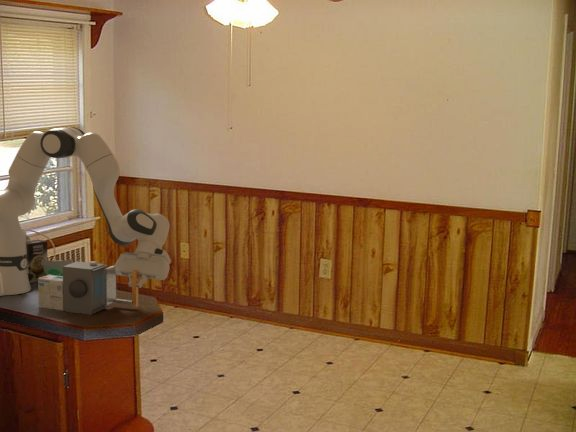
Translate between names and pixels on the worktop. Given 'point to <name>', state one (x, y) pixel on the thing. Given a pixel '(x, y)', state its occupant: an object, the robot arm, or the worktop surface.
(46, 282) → the light bulb box
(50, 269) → the food container
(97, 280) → the camera body
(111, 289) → the side door
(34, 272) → the coffee box
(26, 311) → the worktop surface
